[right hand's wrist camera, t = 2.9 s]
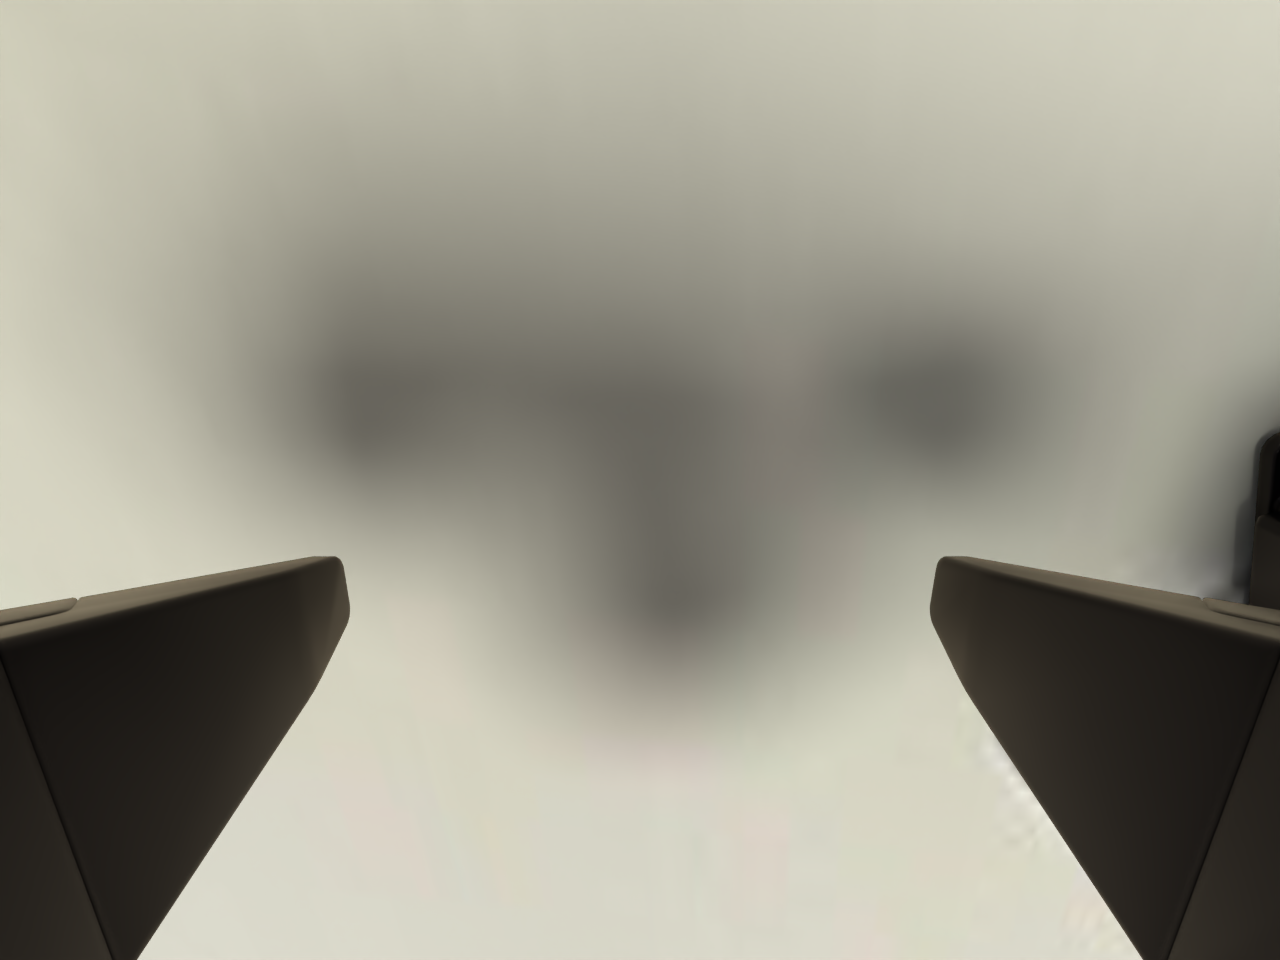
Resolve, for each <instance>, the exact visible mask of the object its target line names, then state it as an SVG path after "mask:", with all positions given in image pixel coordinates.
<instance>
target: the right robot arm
mask: <svg viewBox="0 0 1280 960" xmlns="http://www.w3.org/2000/svg"><path fill="white" fill-rule="evenodd" d="M349 616H350V603H349V597H348V591H347V584H346V578H345V572H344V567H343V564H342V562H341V560H340V559H339V558H337V557H335V556H329V557H307V558H301V559H296V560H290V561H284V562H279V563H273V564H267V565H262V566H256V567H250V568H245V569H239V570H233V571H228V572H222V573H216V574H211V575H205V576H199V577H194V578H188V579H182V580H177V581H171V582H165V583H160V584H154V585H148V586H143V587H137V588H131V589H125V590H120V591H114V592H108V593H103V594H97V595H91V596H86V597H81V598H80V599H79V600H77V599H76V598H69V599H63V600H57V601H51V602H46V603H40V604H34V605H28V606H22V607H16V608H10V609H5V610H0V960H137V959H138V957H139V956H140V954H141V953H142V951H143V950H144V948H145V947H146V945H147V944H148V942H149V941H150V939H151V938H152V936H153V935H154V933H155V932H156V930H157V929H158V927H159V926H160V924H161V923H162V921H163V920H164V918H165V916H166V915H167V913H168V912H169V910H170V909H171V907H172V906H173V904H174V903H175V901H176V900H177V898H178V897H179V895H180V894H181V892H182V891H183V889H184V888H185V886H186V885H187V883H188V882H189V880H190V879H191V877H192V876H193V874H194V873H195V871H196V870H197V868H198V867H199V865H200V864H201V862H202V861H203V859H204V857H205V856H206V854H207V853H208V851H209V850H210V848H211V847H212V845H213V844H214V842H215V841H216V839H217V838H218V836H219V835H220V833H221V832H222V830H223V829H224V827H225V826H226V824H227V823H228V821H229V820H230V818H231V817H232V815H233V814H234V812H235V811H236V809H237V808H238V806H239V805H240V803H241V802H242V800H243V798H244V797H245V795H246V794H247V792H248V791H249V789H250V788H251V786H252V785H253V783H254V782H255V780H256V779H257V777H258V776H259V774H260V773H261V771H262V770H263V768H264V767H265V765H266V764H267V762H268V761H269V759H270V758H271V756H272V755H273V753H274V752H275V750H276V749H277V747H278V746H279V744H280V742H281V741H282V739H283V738H284V736H285V735H286V733H287V732H288V730H289V729H290V727H291V726H292V724H293V723H294V721H295V720H296V718H297V717H298V715H299V714H300V712H301V711H302V709H303V708H304V706H305V705H306V703H307V702H308V700H309V698H310V697H311V695H312V694H313V692H314V690H315V689H316V687H317V685H318V683H319V681H320V679H321V677H322V675H323V673H324V671H325V669H326V667H327V665H328V663H329V661H330V659H331V657H332V655H333V653H334V651H335V648H336V646H337V644H338V642H339V640H340V638H341V636H342V634H343V632H344V630H345V628H346V626H347V623H348V620H349ZM930 616H931V620H932V623H933V626H934V628H935V630H936V632H937V634H938V636H939V638H940V640H941V642H942V644H943V646H944V648H945V651H946V653H947V655H948V657H949V659H950V661H951V663H952V665H953V667H954V669H955V671H956V673H957V675H958V677H959V679H960V681H961V683H962V685H963V687H964V689H965V690H966V692H967V694H968V695H969V697H970V698H971V700H972V702H973V703H974V705H975V706H976V708H977V709H978V711H979V712H980V714H981V715H982V717H983V718H984V720H985V721H986V723H987V724H988V726H989V727H990V729H991V730H992V732H993V733H994V735H995V736H996V738H997V739H998V741H999V742H1000V744H1001V745H1002V747H1003V748H1004V750H1005V752H1006V753H1007V755H1008V756H1009V758H1010V759H1011V761H1012V762H1013V764H1014V765H1015V767H1016V768H1017V770H1018V771H1019V773H1020V774H1021V776H1022V777H1023V779H1024V780H1025V782H1026V783H1027V785H1028V786H1029V788H1030V789H1031V791H1032V792H1033V794H1034V795H1035V797H1036V798H1037V800H1038V801H1039V803H1040V804H1041V806H1042V807H1043V809H1044V810H1045V812H1046V813H1047V815H1048V817H1049V818H1050V820H1051V821H1052V823H1053V824H1054V826H1055V827H1056V829H1057V830H1058V832H1059V833H1060V835H1061V836H1062V838H1063V839H1064V841H1065V842H1066V844H1067V845H1068V847H1069V848H1070V850H1071V851H1072V853H1073V854H1074V856H1075V857H1076V859H1077V860H1078V862H1079V863H1080V865H1081V866H1082V868H1083V870H1084V871H1085V873H1086V874H1087V876H1088V877H1089V879H1090V880H1091V882H1092V883H1093V885H1094V886H1095V888H1096V889H1097V891H1098V892H1099V894H1100V895H1101V897H1102V898H1103V900H1104V901H1105V903H1106V904H1107V906H1108V907H1109V909H1110V910H1111V912H1112V913H1113V915H1114V916H1115V918H1116V919H1117V921H1118V923H1119V924H1120V926H1121V927H1122V929H1123V930H1124V932H1125V933H1126V935H1127V936H1128V938H1129V939H1130V941H1131V942H1132V944H1133V945H1134V947H1135V948H1136V950H1137V951H1138V953H1139V954H1140V956H1141V957H1142V959H1143V960H1280V433H1277V434H1275V435H1273V436H1272V437H1271V438H1269V439H1268V440H1267V441H1266V443H1265V444H1264V445H1263V447H1262V450H1261V453H1260V463H1259V477H1258V490H1257V503H1256V516H1255V530H1254V543H1253V556H1252V569H1251V583H1250V596H1249V605H1246V604H1240V603H1234V602H1229V601H1223V600H1217V599H1211V598H1204V599H1203V600H1201V599H1200V598H1199V597H1195V596H1189V595H1183V594H1178V593H1172V592H1166V591H1161V590H1155V589H1149V588H1144V587H1138V586H1132V585H1127V584H1121V583H1115V582H1110V581H1104V580H1098V579H1092V578H1087V577H1081V576H1075V575H1070V574H1064V573H1058V572H1053V571H1047V570H1041V569H1036V568H1030V567H1024V566H1019V565H1013V564H1007V563H1001V562H996V561H990V560H984V559H979V558H973V557H965V556H945V557H943V558H941V559H940V560H939V562H938V564H937V567H936V572H935V578H934V584H933V591H932V597H931V603H930Z"/></svg>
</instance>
